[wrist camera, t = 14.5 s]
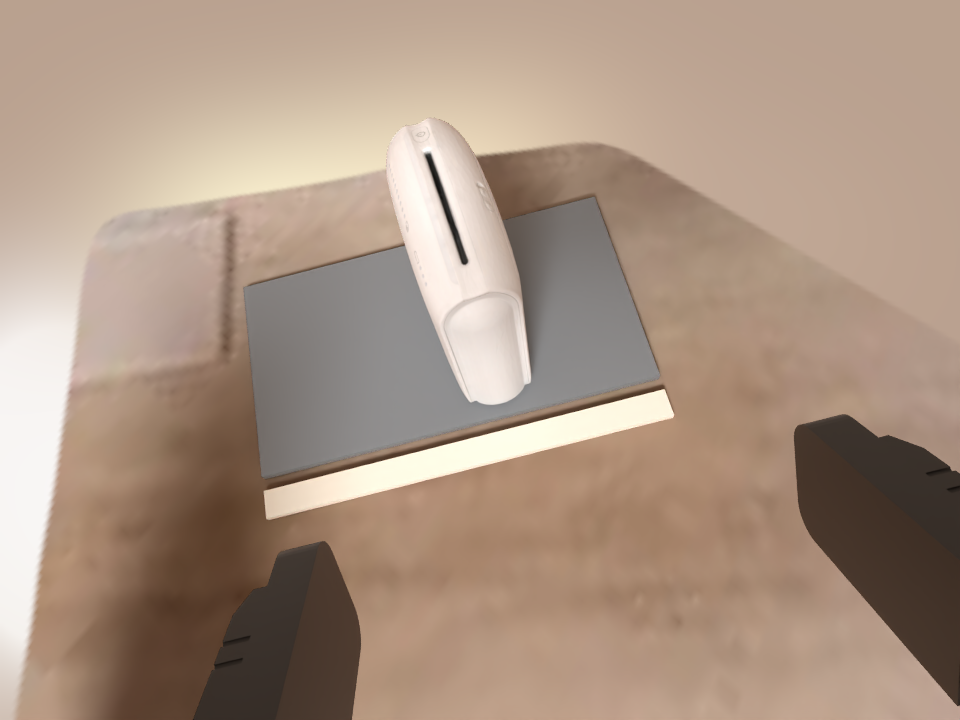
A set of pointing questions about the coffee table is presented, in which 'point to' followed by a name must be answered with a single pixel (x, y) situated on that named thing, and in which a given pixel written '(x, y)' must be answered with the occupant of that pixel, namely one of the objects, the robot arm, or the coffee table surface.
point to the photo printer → (460, 259)
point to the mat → (437, 363)
